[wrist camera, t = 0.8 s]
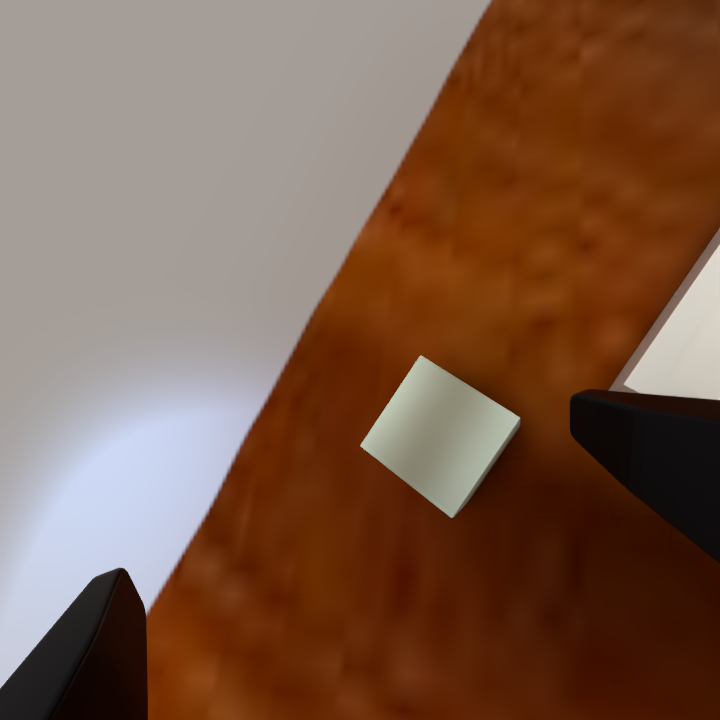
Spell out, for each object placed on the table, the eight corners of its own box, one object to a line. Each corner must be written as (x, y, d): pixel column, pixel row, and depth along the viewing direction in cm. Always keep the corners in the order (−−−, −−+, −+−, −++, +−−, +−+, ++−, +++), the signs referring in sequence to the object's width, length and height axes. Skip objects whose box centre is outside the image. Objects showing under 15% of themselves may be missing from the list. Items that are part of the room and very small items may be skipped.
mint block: (520, 425, 23) (520, 417, 17) (468, 501, 23) (451, 518, 17) (442, 376, 25) (420, 355, 19) (395, 446, 25) (360, 445, 19)
